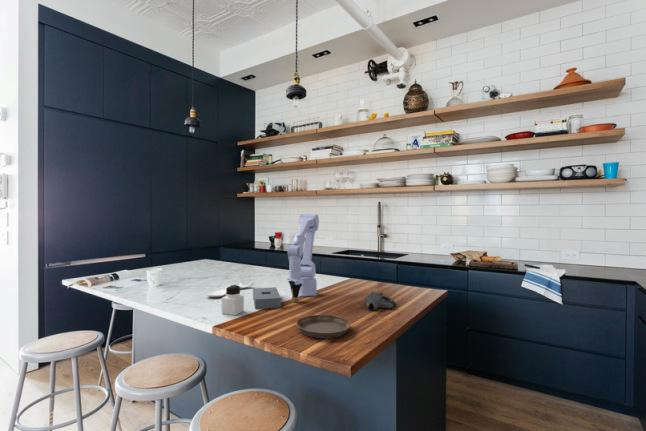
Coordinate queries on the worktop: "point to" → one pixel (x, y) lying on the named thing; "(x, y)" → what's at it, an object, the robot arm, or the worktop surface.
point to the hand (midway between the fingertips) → (294, 296)
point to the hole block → (266, 298)
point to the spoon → (223, 292)
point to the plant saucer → (323, 326)
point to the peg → (294, 299)
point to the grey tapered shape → (378, 301)
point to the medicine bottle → (232, 301)
